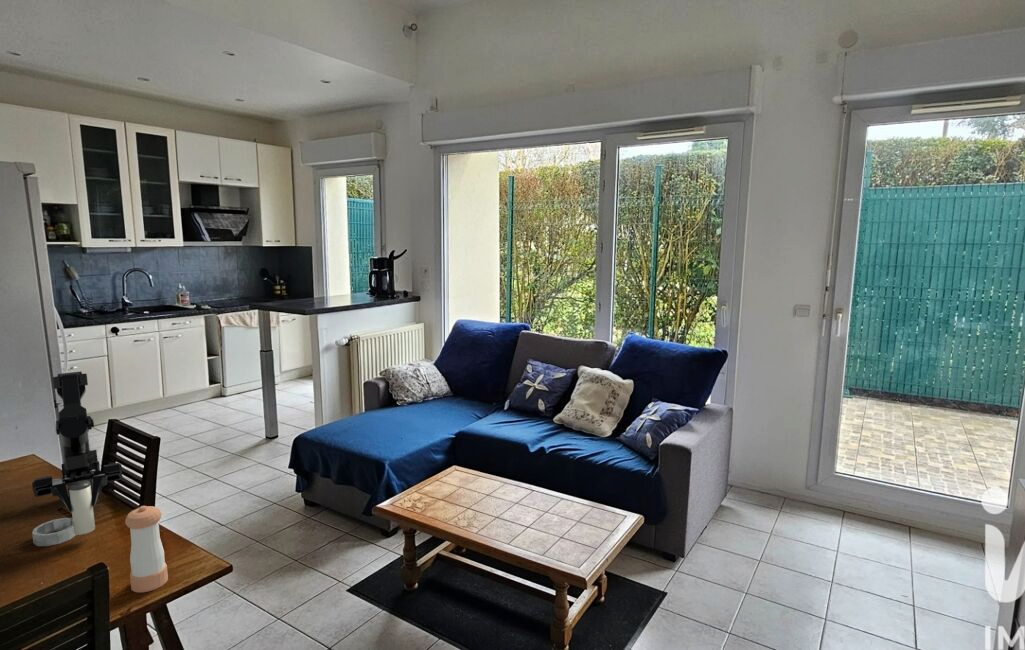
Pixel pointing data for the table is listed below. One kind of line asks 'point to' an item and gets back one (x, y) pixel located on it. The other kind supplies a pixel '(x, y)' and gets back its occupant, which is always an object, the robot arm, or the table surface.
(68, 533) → the collar
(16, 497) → the table surface
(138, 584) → the pepper shaker
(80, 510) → the peg
